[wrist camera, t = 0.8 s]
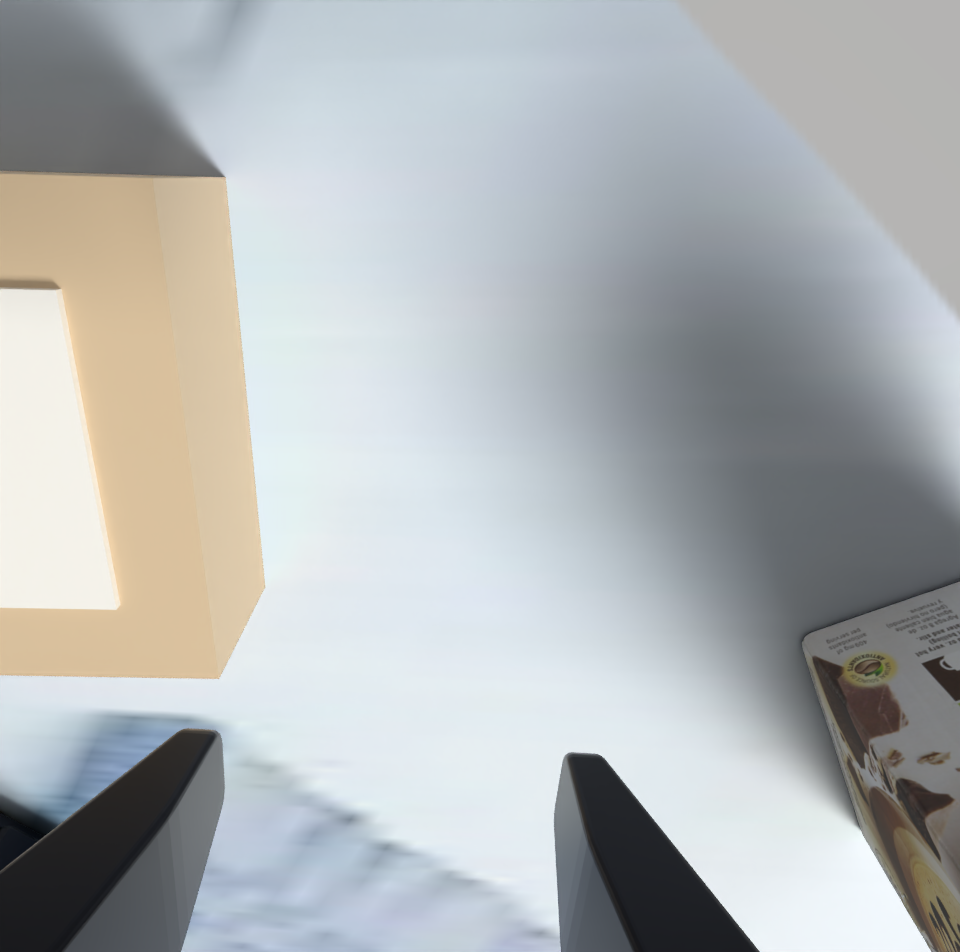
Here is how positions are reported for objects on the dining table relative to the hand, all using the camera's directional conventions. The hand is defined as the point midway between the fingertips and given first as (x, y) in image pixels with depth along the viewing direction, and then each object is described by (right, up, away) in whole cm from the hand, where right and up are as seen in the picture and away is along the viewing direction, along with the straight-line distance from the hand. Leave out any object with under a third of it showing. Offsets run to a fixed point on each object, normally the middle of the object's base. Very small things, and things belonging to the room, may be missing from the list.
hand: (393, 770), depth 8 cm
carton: (-10, +5, +11) cm, 16 cm away
